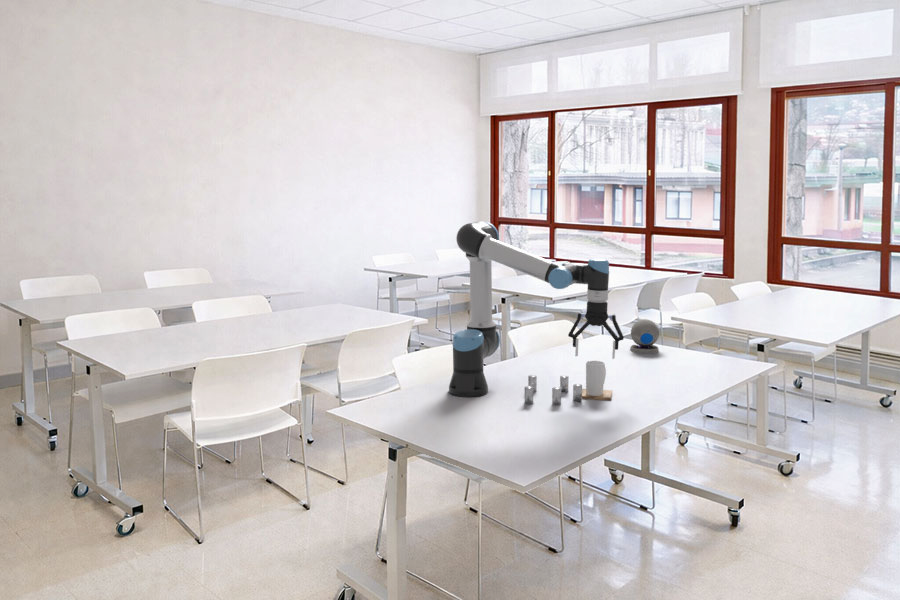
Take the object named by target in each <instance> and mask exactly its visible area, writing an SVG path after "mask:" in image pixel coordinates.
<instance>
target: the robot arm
mask: <svg viewBox="0 0 900 600" xmlns="http://www.w3.org/2000/svg"><path fill="white" fill-rule="evenodd" d="M455 238H456V239H455V240H456V243H457V247H458V248H459V249H460V251H462V252H463V253H465V257H466V259H468V260H469V290H470V291H469V292H470V293H469V296H470V297H469V298H470V299H469V300H470V301H469V302H470V303H469V304H470V305H469V306H470V321H469V322H468V323H466V329H464V330H459V331H457V332H455V333H454V335H453V337H452V365H453V367H452V376H451V378H450V382H449V385H448V392H450V393H451V394H450V393H449V394H450V395H452V394H453V396H456V395H458V396H457V397H462V396H467V397H466V398H471V397H480V396H485V395H486V394H487V393H488V392H489V385H488V382H487V379H486V376H485V373H484V359H486V358H488V357H490V356H492V355H493V354H495V353H496V351H497V350H498V348H499V346H500V343H501V337H500V334H499V332H498V331H497V323H495V322H494V321H493V293H492V292H493V291H492V287H493V285H492V279H493V277H492V269H493V268H492V261H494V262H495V263H499V264H500V265H503V266H506V267H507V268H511V269H512V270H513V269H514V270H515V271H518V272H520V273H523V274H525V275H529V276H530V277H533V278H536V279H538V280H541V281H542V282H546V283H548V284H549V285H550V286H551V287H552V288H554V289H556V290H564V289H566V288H568V287H570V286H572V285H573V284H576V285H577V284H579V285H587V294H586V300H587V302H586V312H585V313H582V312H581V311H580V312H578V314H577V318H576V320H575V321H574V323H573V326H572V327H571V329H570V331H569V332H568V337H569V338H572V347H573V348H575V353H574V355H575V357H578V356H579V340H580V339H579V336H580V335H581V334H582V332H583V331H584V330H586V329H587V328H588V326H592V327H595V326H597V327H601V326H603V327H604V328H605V330H606V331H607V332H608V333H609V334H610V336H611V337H612V338H613V341H612V356H611V357H612V360H614V359H615V357H616V350H619V344H620V343H619V342H620V341H623V340H624V337H625V336H624V335H623V332H622V330H621V328H620V325H619V323H618V321H617V316H616V313H613V314H608V299H609V281H610V262H609V260H607V259H605V258H591V259H589V260H588V263H574V262H559V263H555V262H553V261H551V260H549V259H547V258H546V259H545V258H543V257H542V256H538V255H535V254H532V253H530V252H527V251H526V250H523V249H520V248H519V247H515V246H512V245H511V244H508V243H505V242H502V241H500V234H499V231H498V229H497V228H496V227H495V225H494V224H493V223H491V222H487V221H481V220H480V221H476V222H475V221H474V222H471V223H470V222H469V223H466V224H464V225H462V226H461V227H460V228H459V229H458V231H457V234H456V237H455ZM584 318H585V320H586V322H585V323H584V324H583V325H582V326H581V327H580V328H579V329H578V330H577V332H575V330H576V329H577V327H578V326H579V323H580V322H581V320H582V319H584ZM608 319H609V320H610V322H612V324H613V326H614V328H615V331H616V333H617V334H616V333H615V331H614V330H613V329H612V328H611V327H610V325H609V324H608V322H607V320H608ZM574 332H575V333H574ZM617 335H618V336H617Z"/></svg>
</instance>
